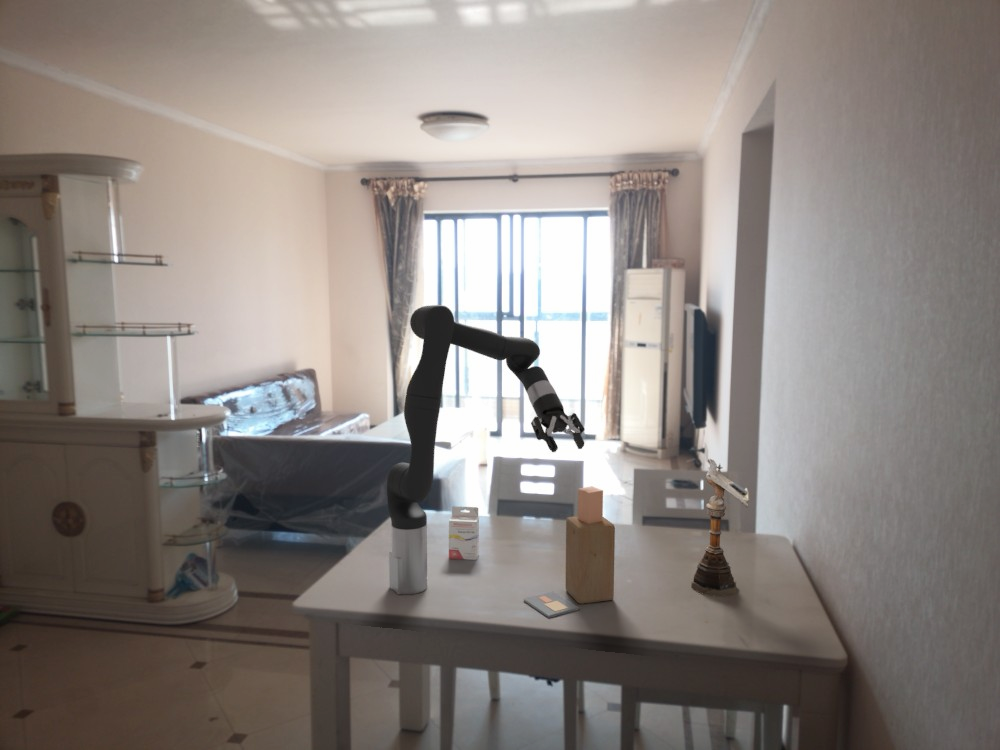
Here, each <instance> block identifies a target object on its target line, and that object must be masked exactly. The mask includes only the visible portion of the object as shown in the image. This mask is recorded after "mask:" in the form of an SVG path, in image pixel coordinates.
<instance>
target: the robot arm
mask: <svg viewBox="0 0 1000 750" xmlns="http://www.w3.org/2000/svg"><path fill="white" fill-rule="evenodd" d="M409 323H410V325H409V326H410V329H411V331H412V333H413V334H414V335H415V336H416V337H418V338H419V339H421V340H423V343H422V351H421V356H420V359H419V362H418V364H417V366H416V367H415V368H416V369H414V372H413V374H412V376H411V378H410V380H409V382H408V385H407V388H406V393H405V394H406V395H405V399H404V406H403V417H404V422H405V425H406V429H407V432H408V436H409V440H410V457H409V463H408V462H399V463H396V464H394V465H393V466H391V468H390V469H389V472H388V475H387V478H386V500H387V502H386V503H387V513H388V516H389V518H390V522H391V551H389V553H388V554H389V555H388V563H389V564H388V567H389V569H388V571H389V572H388V573H389V574H388V575H389V578H388V579H389V581H388V582H389V588H390V589H392V590H393V592H395V594H397V595H403V594H404V595H412V594H413V595H415V594H418V593H422V592H423V591H425V590H427V588H428V535H427V534H428V530H427V529H428V526H427V523H428V522H427V520H428V518H427V517H428V515H427V513H426V512H425V510H424V509H423V508H421V506H420V504H419V503H422V502H423V501H425V500H426V499H427V498H428V497H429V495H430V493H431V491H432V487H433V482H434V471H435V470H434V469H435V448H436V438H437V429H438V421H439V415H440V411H441V403H442V394H443V385H444V380H445V373H446V372H445V371H446V366H447V359H448V357H449V356H448V355H449V350H450V347H451V345H453V346H457V347H460V348H463V349H466V350H468V351H472V352H474V353H476V354H479V355H482V356H486V357H488V358H490V359H493V360H496V361H504V360H505V361H506V362H505V363H506V366H507V368H508V369H509V370H510V371H511V372H512V373H513V374H514V375H515V376H516V377H517V379H518V380H519V381H520V382H521V384H522V386H523V387H524V390H525V391H526V394H527V396H528V399H529V402H530V404H531V406H532V409H533V411H534V412H535V414H536V416H534V417H533V419H532V420H531V422H530V425H531V426H532V429H533V432H534V435H535V436H536V439H537V441H541V440H543V441H544V442H545V443H546V445H547V447H548V449H549V450H550V451H551V453H556V452H557V450H558V445H557V442H556V440H555V439H554V436H552V434H555V433H564V434H566V435H569V436H571V438H573V441H574V443H575V446H576V447H577V449H578V450H582V449H583V447H584V446H585V441H584V439H583V437H582V434H583V432H584V431H585V427H584V426H583V423H582V422H581V421H580V419H579V417H578V415H577V414H576V413H575V412H573V413H572V414H571V415H567V414H566V413H565V410H564V406H563V404H562V401H561V400H560V398H559V396H558V394H557V392H556V389H555V388H554V386H553V385H552V384H551V382H550V381H549V378H548V377H547V375H546V374H547V373H545V371H544V370H543V368H542V367H540V366H538V365H537V366H535V365H534V366H531V365H533V363H534V362H535V361H536V360H537V359H538V358H539V357H540V355H541V350H540V347H539V345H538V343H536V342H535V341H534V340H532V339H530V338H527V337H519V336H504V335H502V334H500V333H497V332H494V331H492V330H488V329H485V328H481V327H477V326H472V325H467V324H464V323H460V322H457V321H455V316H454V314H453V312H452V310H451V309H450V308H449V307H448V306H446V305H441V304H434V305H433V304H432V305H425V306H423V305H422V306H421V307H419V308H417V309H416V310H414V311H413V313H412V314H411V316H410V320H409ZM543 427H544V428H545V430H544V428H543ZM567 427H568V428H567Z"/></svg>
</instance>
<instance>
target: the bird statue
mask: <svg viewBox="0 0 1000 750" xmlns="http://www.w3.org/2000/svg"><path fill="white" fill-rule="evenodd" d="M707 463H708V464H709V466H708V467H707V469H708V471H707V473H706V475H705V479H706V482H707V483H708V484H709V485H710V486H712V487H713V488H714V492H715V493H714V495H713V496H711V497H710V499H709V501H708V503H706V505H705V506H706V508H707V512H706V513H707V515H708V516H709V518H710V529H709V530H708V532H709V536H710V537H709V545H707V546H706V547H705V548H704V551H705V553H704V555H703V556H702V558H700V560H699V562H698V564H697V567H696V568H697V569H696V571H695V573H694V575H693V577H692V580H691V586H690V587H691V589H693V588H694V589H693V590H695V591H697V592H698V591H699V592H698V593H700V592H701V593H700V594H702V593H703V594H702V595H706V594H710V595H709V596H713V595H715V596H714V597H719V596H721V597H725V596H731V594H732V595H735V594H736V589H737V581H736V580H735V579H734V576H733V574H732V570H731V568H732V567H731V566H730V565H729V562H727V559H726V556H725V555H724V549H723V548H722V547H721V545H720V544H721V542H720V541H721V535H722V532H721V526H722V525H721V522H722V518H723V517H724V516H725V514H726V512H725V511H726V509H727V505H726V504H725V499H724V496H725V491H727V493H730V495H732V496H733V497H734V498H736V499H737V500H738V501H739V502H740V503H741V504H743V506H745V507H746V508H749V502H750V492H749V488H748V487H745V488H743V487H742V486H741V485H739V484H737V483H736V482H735V481H732V480H730V479H729V478H728V477H726V476H725V475H723V474H722V470H721V469H723V466H722V465H721V463H719V464H718V465H717V463H716V461H715V460H714V459H711V458H708V459H707Z"/></svg>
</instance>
